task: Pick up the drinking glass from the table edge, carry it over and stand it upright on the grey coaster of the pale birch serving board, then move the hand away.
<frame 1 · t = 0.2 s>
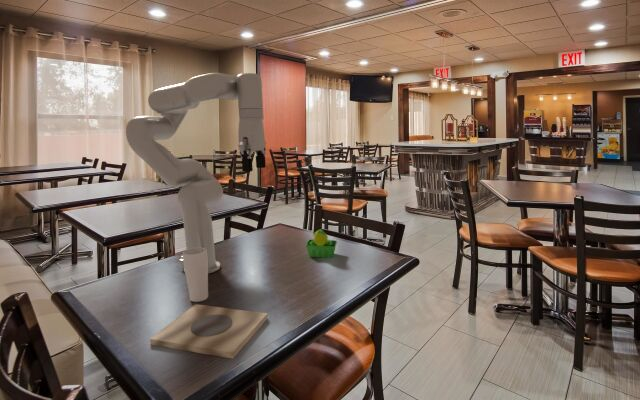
hand: (254, 169, 122), 36 cm above the table, tool pointing down, fingers open, 9 cm apart
serving board: (212, 330, 95), on the table
fruit basket: (321, 256, 147), on the table
drinking glass: (199, 299, 113), on the table
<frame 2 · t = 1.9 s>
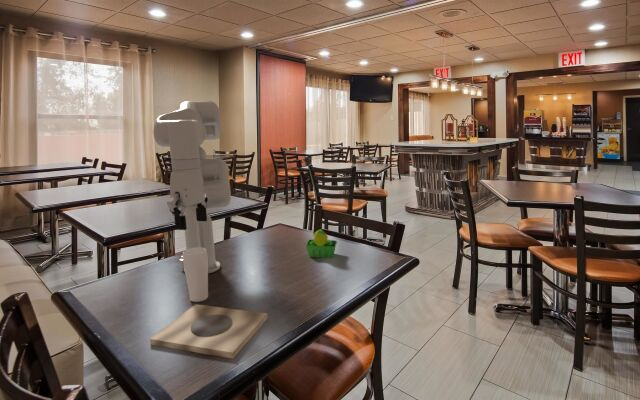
hand: (192, 225, 108), 23 cm above the table, tool pointing down, fingers open, 9 cm apart
nothing on the table moved.
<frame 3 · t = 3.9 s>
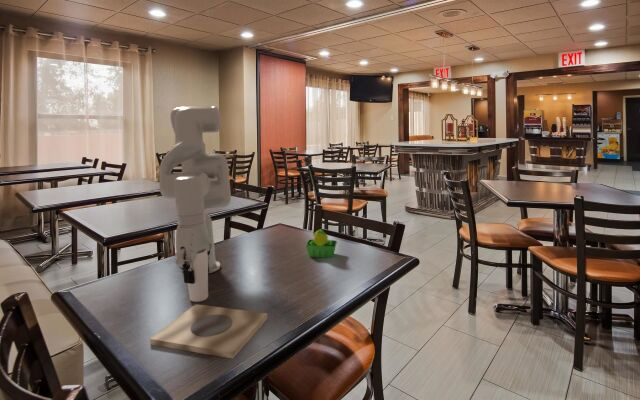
hand: (197, 277, 112), 7 cm above the table, tool pointing down, fingers closed on drinking glass, 6 cm apart
drinking glass: (199, 299, 113), on the table, touching gripper
everything else where it was.
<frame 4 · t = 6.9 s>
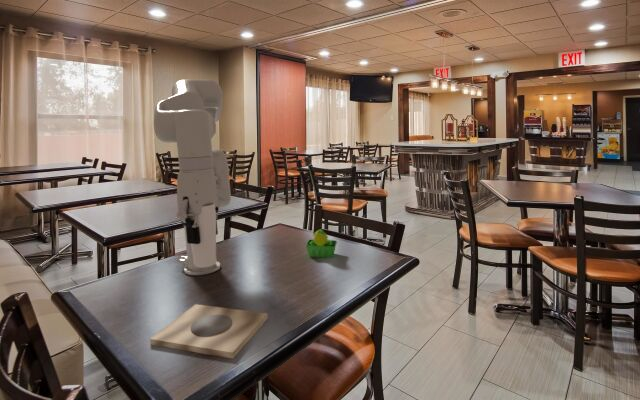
hand: (203, 238, 91), 24 cm above the table, tool pointing down, fingers closed on drinking glass, 6 cm apart
drinking glass: (205, 265, 92), point 17 cm above the table, touching gripper
everything else where it was.
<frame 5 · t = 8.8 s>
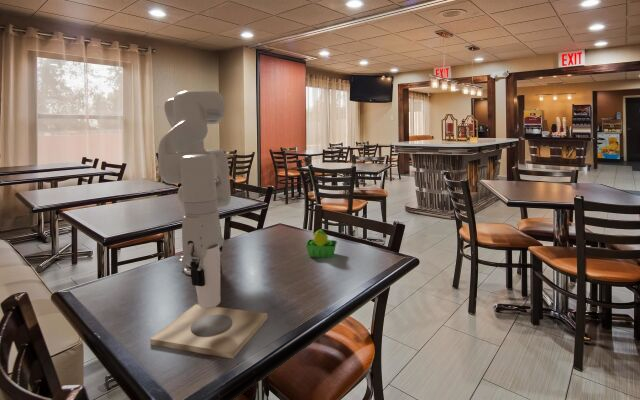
hand: (207, 278, 92), 14 cm above the table, tool pointing down, fingers closed on drinking glass, 6 cm apart
drinking glass: (209, 304, 93), point 7 cm above the table, touching gripper
everything else where it was.
when the fingers open (10 cm above the table, at t = 10.2 s): drinking glass drops 1 cm, resting on serving board.
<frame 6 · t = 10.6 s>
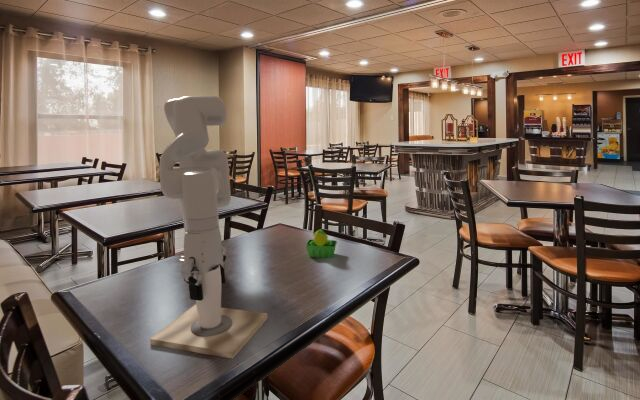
hand: (208, 290, 93), 11 cm above the table, tool pointing down, fingers open, 9 cm apart
drinking glass: (210, 325, 95), point 2 cm above the table, touching serving board
everything else where it was.
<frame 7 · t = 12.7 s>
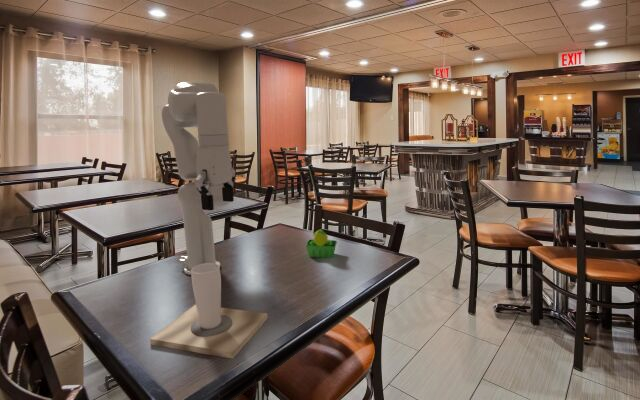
hand: (218, 205, 102), 29 cm above the table, tool pointing down, fingers open, 9 cm apart
nothing on the table moved.
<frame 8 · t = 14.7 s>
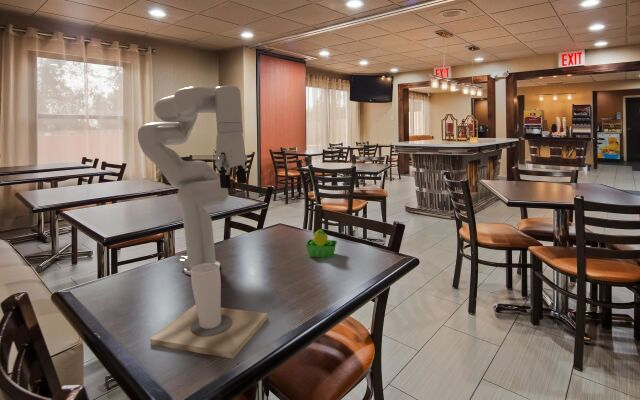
hand: (234, 185, 117), 32 cm above the table, tool pointing down, fingers open, 9 cm apart
nothing on the table moved.
at the end: drinking glass inside the target area on the serving board (0.2 cm from its centre), point 1.6 cm above the serving board's base; drinking glass tilted 0°; the gripper is holding nothing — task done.
